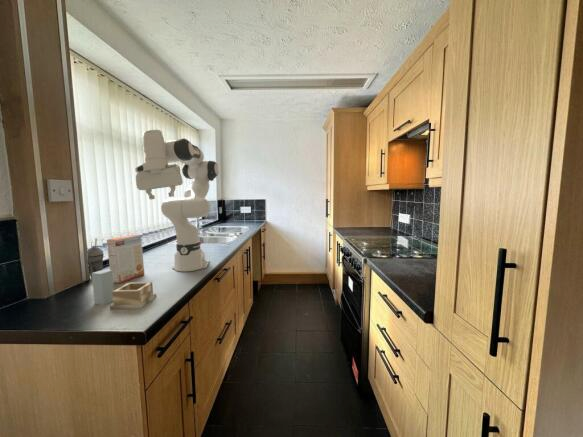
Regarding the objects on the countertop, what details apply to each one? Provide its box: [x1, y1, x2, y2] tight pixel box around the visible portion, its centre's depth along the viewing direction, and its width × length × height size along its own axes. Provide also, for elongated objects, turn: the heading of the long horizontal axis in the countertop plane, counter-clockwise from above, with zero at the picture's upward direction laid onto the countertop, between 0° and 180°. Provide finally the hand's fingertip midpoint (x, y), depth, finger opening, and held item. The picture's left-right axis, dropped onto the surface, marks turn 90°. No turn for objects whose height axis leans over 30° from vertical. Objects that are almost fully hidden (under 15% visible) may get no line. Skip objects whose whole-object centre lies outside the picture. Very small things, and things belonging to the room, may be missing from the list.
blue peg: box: [91, 269, 115, 306], centre depth 99 cm, size 4×4×12 cm
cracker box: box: [106, 234, 145, 284], centre depth 126 cm, size 14×6×21 cm, turn 162°
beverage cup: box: [86, 237, 105, 280], centre depth 128 cm, size 7×7×20 cm
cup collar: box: [109, 281, 157, 310], centre depth 98 cm, size 11×11×6 cm
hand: (161, 198), depth 114 cm, fingers open, 8 cm apart
